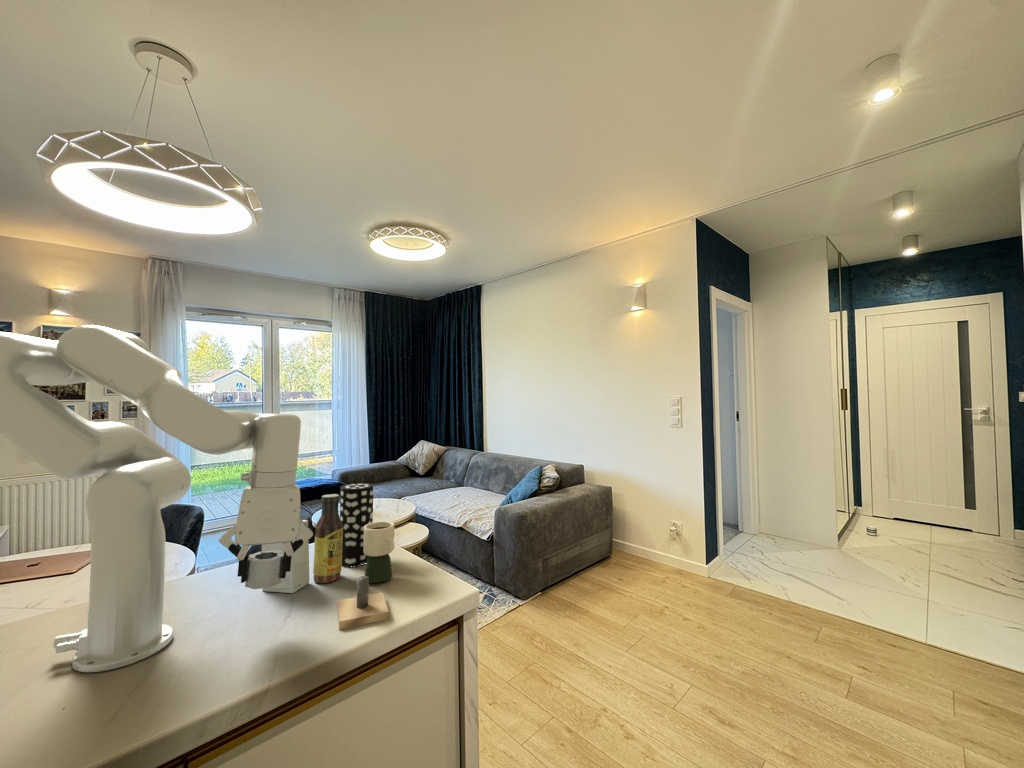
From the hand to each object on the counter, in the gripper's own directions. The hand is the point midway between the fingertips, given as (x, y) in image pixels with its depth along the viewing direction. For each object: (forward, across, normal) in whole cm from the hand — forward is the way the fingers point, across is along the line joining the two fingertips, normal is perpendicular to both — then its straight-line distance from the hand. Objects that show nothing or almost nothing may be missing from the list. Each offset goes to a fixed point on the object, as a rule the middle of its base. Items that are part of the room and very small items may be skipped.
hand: (264, 576), depth 77 cm
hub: (+1, 0, 0) cm, 1 cm away
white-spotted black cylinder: (+10, +19, +30) cm, 36 cm away
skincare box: (+10, +3, +20) cm, 22 cm away
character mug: (+9, +23, +15) cm, 29 cm away
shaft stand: (+9, +18, 0) cm, 20 cm away
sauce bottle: (+10, +12, +21) cm, 26 cm away
